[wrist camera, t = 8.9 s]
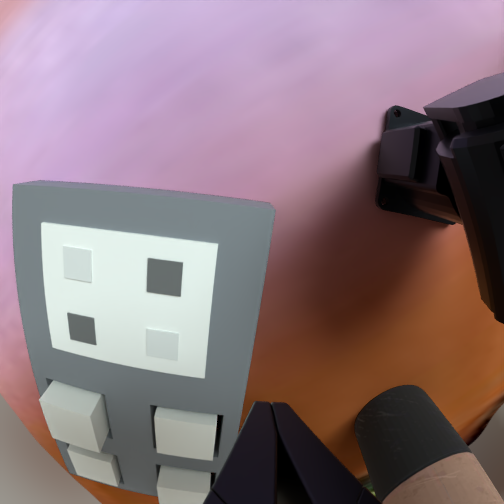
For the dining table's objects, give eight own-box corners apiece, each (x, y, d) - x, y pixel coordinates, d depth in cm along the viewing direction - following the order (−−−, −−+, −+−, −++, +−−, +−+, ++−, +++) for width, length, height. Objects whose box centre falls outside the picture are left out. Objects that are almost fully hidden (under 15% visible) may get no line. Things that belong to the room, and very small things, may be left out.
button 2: (120, 436, 22) (110, 463, 19) (125, 462, 23) (117, 486, 20) (79, 425, 22) (67, 449, 19) (87, 451, 23) (77, 474, 20)
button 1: (105, 387, 19) (90, 416, 16) (111, 424, 20) (99, 453, 17) (57, 374, 19) (39, 399, 16) (67, 411, 20) (52, 437, 17)
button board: (269, 202, 18) (276, 210, 15) (224, 481, 25) (224, 507, 22) (39, 180, 17) (9, 184, 14) (78, 452, 24) (68, 474, 20)
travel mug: (439, 375, 22) (561, 543, 3) (413, 435, 24) (493, 589, 5) (361, 387, 22) (464, 615, 3) (342, 449, 24) (400, 635, 5)
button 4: (211, 463, 22) (209, 493, 18) (209, 486, 23) (207, 514, 19) (162, 456, 21) (156, 486, 18) (164, 480, 22) (159, 507, 19)
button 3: (218, 394, 21) (216, 425, 18) (214, 430, 22) (212, 460, 19) (163, 386, 21) (154, 416, 18) (164, 423, 22) (157, 452, 19)
